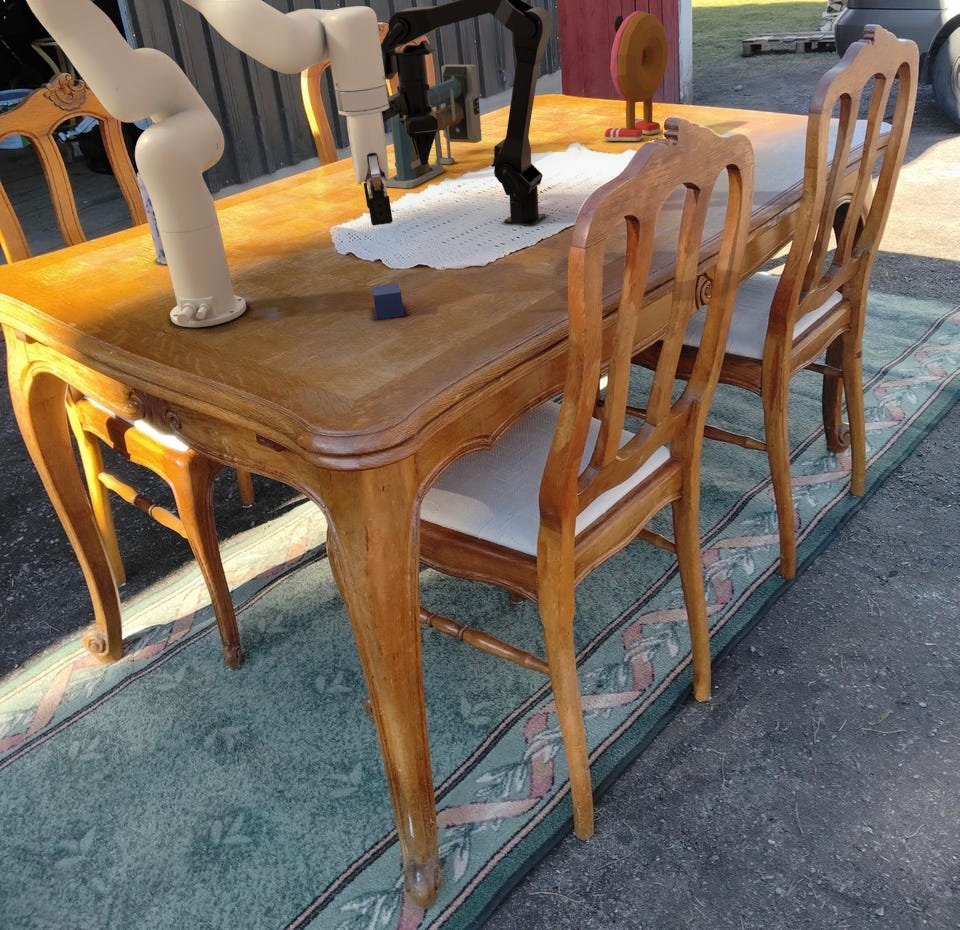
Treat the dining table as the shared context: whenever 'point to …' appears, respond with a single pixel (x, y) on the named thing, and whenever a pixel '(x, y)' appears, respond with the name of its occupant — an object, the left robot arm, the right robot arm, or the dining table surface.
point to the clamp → (440, 125)
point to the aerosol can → (152, 222)
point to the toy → (637, 71)
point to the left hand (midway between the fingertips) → (379, 215)
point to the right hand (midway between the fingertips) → (421, 159)
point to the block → (387, 301)
